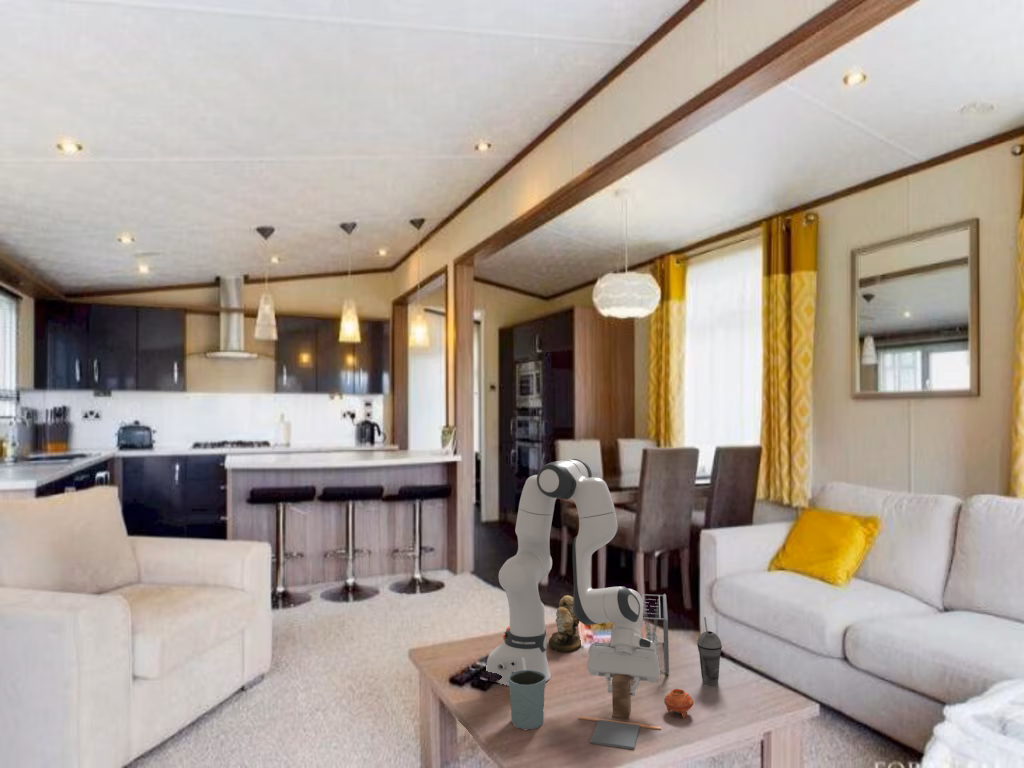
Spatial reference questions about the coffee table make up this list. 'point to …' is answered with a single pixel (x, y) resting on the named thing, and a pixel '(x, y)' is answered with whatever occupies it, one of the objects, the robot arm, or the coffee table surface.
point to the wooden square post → (621, 696)
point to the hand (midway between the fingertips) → (621, 693)
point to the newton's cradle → (651, 634)
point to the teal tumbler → (527, 698)
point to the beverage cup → (709, 656)
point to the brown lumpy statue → (565, 628)
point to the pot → (678, 701)
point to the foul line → (620, 722)
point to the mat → (615, 734)
